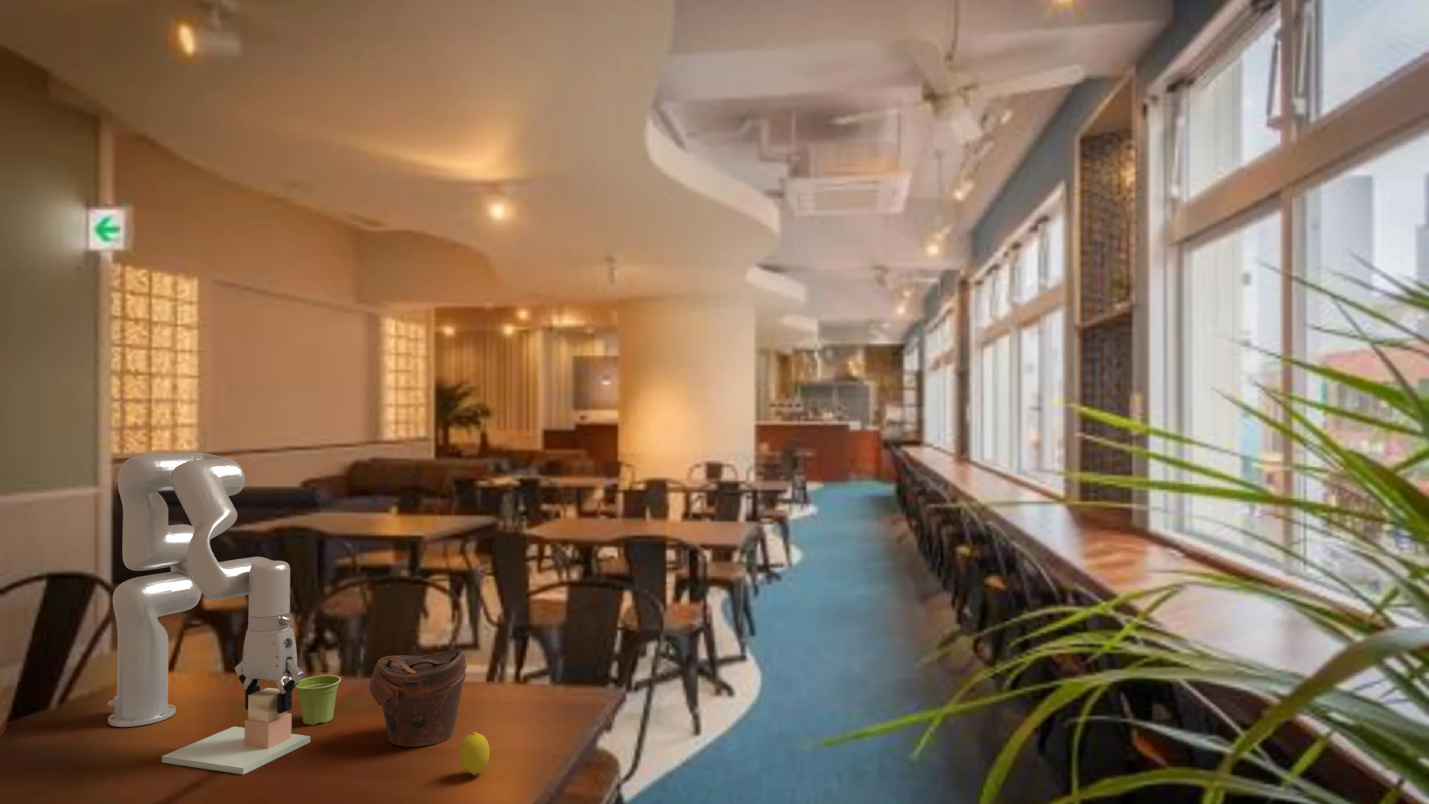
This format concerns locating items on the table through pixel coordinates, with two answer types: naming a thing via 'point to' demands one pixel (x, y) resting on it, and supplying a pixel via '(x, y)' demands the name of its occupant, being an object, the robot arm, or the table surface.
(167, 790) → the table surface
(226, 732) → the building board
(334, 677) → the plant pot
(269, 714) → the maple cube
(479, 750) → the lemon
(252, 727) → the base block
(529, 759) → the table surface
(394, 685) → the case
